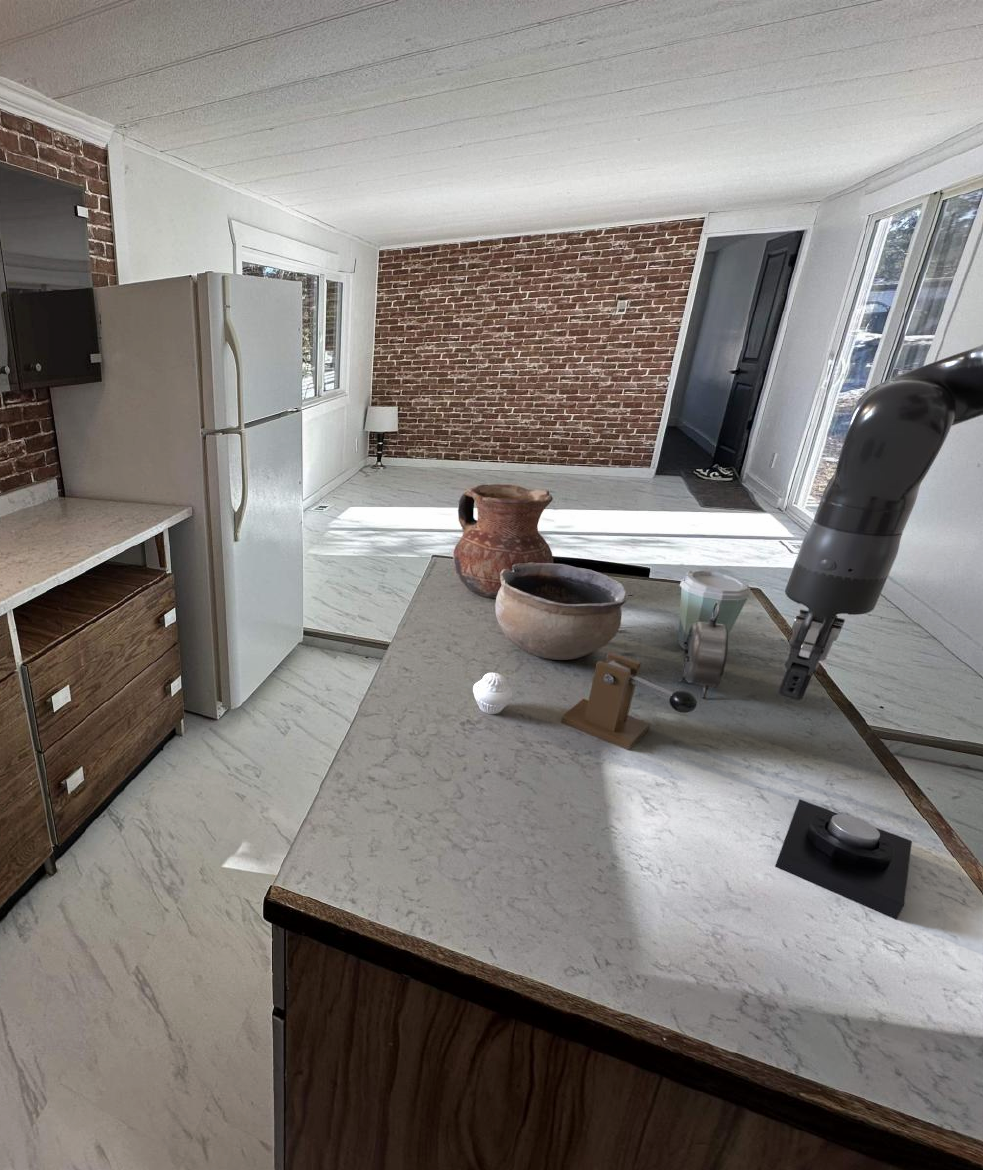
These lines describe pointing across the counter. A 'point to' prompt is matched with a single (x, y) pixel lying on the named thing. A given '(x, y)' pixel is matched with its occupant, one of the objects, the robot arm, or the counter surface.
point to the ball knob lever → (663, 692)
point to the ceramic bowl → (558, 609)
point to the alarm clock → (706, 653)
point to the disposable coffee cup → (710, 599)
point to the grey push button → (853, 831)
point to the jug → (498, 534)
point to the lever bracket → (609, 705)
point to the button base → (846, 861)
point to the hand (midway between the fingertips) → (790, 695)
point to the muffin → (492, 693)
